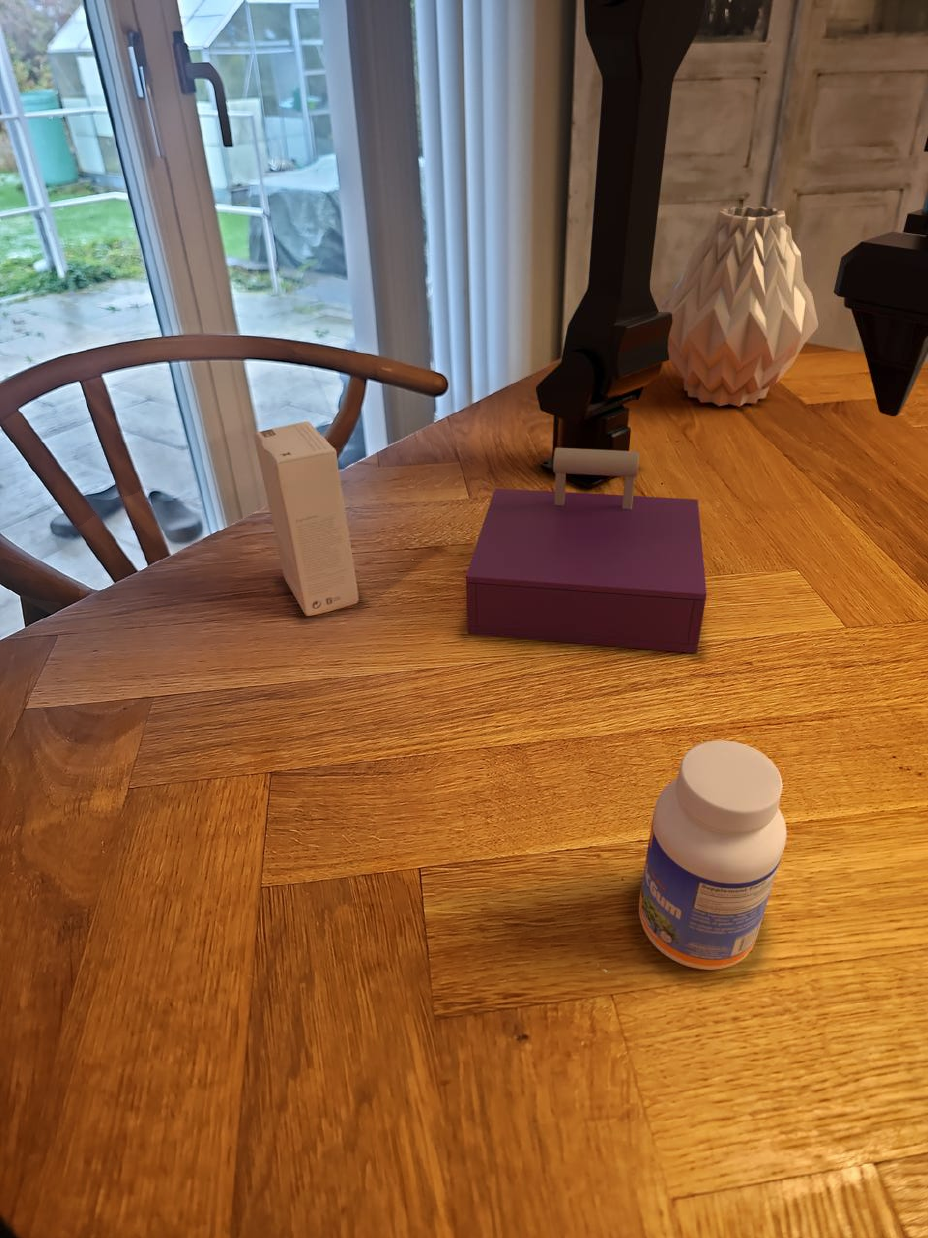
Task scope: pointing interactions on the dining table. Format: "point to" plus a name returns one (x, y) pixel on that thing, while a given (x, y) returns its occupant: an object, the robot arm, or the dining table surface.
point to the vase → (739, 308)
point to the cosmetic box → (308, 516)
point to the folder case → (584, 617)
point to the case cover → (592, 535)
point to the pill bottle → (713, 855)
